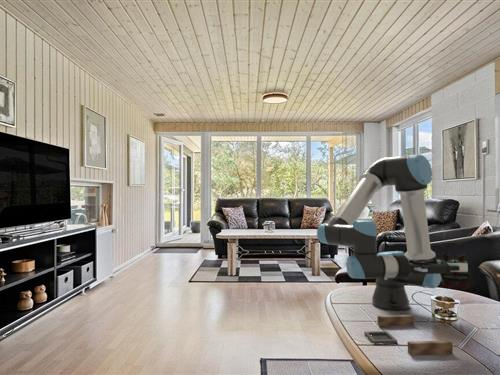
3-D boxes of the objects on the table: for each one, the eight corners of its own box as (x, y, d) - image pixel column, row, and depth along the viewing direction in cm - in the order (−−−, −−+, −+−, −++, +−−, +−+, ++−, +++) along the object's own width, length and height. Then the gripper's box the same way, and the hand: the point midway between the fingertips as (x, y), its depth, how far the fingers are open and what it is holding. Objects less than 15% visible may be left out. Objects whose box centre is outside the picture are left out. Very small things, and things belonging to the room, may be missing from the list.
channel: (410, 355, 107) (409, 343, 107) (377, 325, 132) (377, 315, 132) (452, 354, 108) (452, 342, 108) (412, 324, 133) (412, 314, 133)
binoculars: (443, 259, 115) (438, 251, 125) (443, 291, 116) (438, 281, 125) (475, 260, 112) (467, 252, 122) (475, 293, 113) (467, 283, 123)
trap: (373, 344, 116) (372, 341, 116) (364, 334, 124) (364, 331, 124) (397, 343, 116) (397, 340, 116) (387, 333, 124) (387, 331, 124)
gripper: (383, 272, 129) (446, 271, 130) (406, 284, 111) (479, 283, 112) (382, 251, 130) (445, 250, 130) (406, 260, 112) (479, 259, 112)
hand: (461, 265), depth 121 cm, fingers closed on binoculars, 5 cm apart
